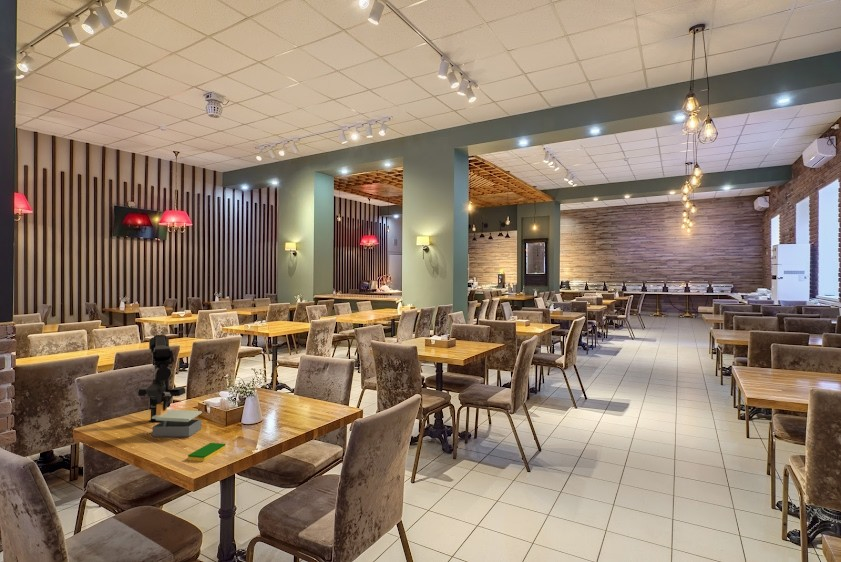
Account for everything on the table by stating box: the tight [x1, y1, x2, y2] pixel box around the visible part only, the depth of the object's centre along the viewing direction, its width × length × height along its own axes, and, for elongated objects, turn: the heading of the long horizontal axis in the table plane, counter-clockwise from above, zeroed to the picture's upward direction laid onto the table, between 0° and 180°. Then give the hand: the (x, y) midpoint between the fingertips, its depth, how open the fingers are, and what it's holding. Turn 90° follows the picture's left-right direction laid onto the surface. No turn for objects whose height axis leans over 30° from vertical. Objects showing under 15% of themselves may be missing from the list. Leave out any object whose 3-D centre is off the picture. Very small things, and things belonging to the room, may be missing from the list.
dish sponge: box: [187, 442, 226, 462], centre depth 179 cm, size 7×14×2 cm, turn 170°
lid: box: [152, 402, 203, 422], centre depth 203 cm, size 16×11×6 cm
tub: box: [152, 418, 202, 438], centre depth 203 cm, size 16×11×4 cm
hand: (161, 410), depth 203 cm, fingers closed on lid
